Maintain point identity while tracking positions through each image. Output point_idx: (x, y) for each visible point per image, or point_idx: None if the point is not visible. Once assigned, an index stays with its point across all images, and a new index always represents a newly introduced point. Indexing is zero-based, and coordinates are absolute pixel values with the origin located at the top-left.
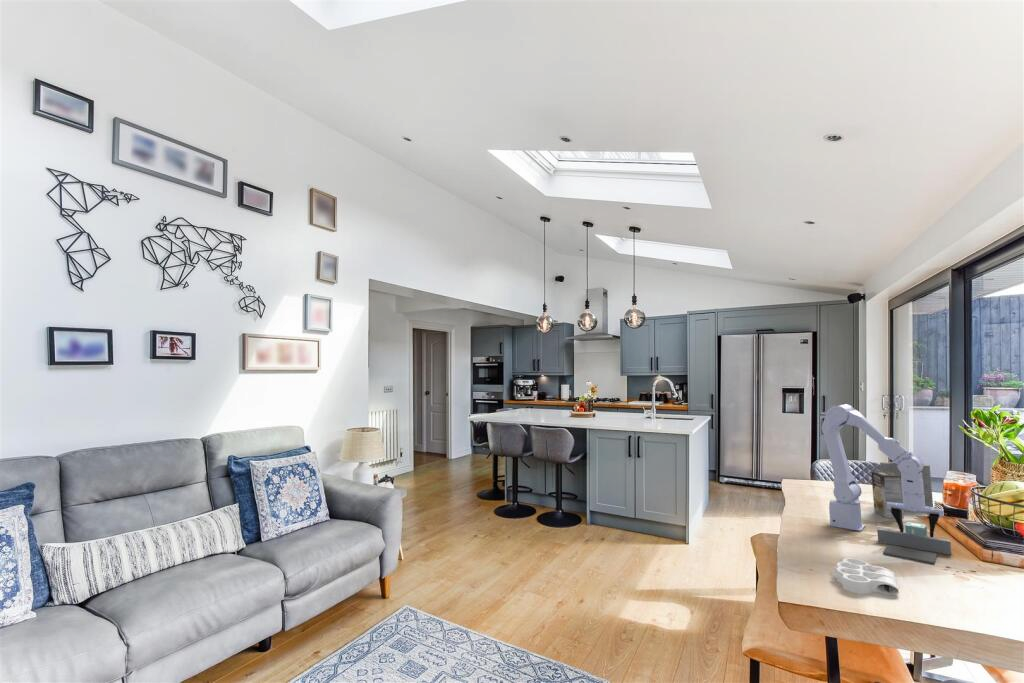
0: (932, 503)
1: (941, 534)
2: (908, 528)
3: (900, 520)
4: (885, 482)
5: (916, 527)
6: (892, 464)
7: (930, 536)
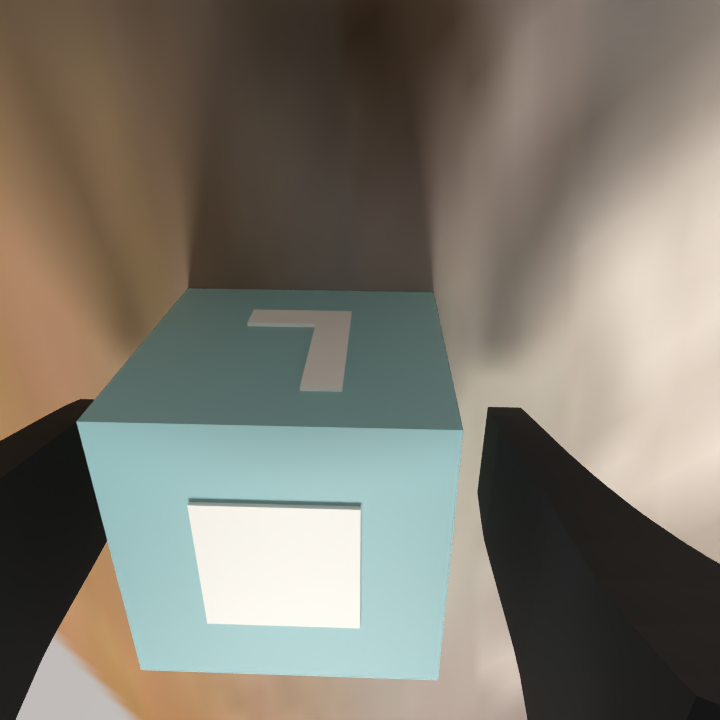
0: None
1: (157, 711)
2: (396, 390)
3: (577, 540)
4: None
5: (236, 420)
6: None
7: None
